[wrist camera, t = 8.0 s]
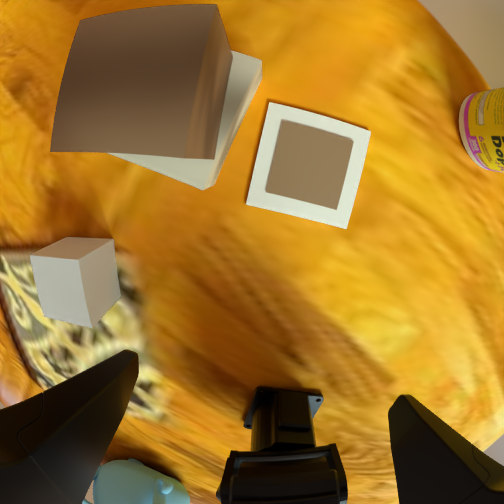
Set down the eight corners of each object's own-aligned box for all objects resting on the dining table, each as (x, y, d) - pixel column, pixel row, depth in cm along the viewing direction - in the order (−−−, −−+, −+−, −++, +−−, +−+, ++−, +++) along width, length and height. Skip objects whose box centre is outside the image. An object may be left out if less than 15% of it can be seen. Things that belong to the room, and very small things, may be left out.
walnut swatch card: (345, 228, 19) (347, 229, 18) (246, 203, 19) (245, 205, 18) (369, 131, 17) (372, 131, 16) (269, 102, 17) (269, 101, 16)
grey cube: (121, 297, 22) (92, 327, 17) (76, 290, 22) (44, 316, 17) (114, 238, 20) (78, 259, 15) (67, 236, 20) (29, 255, 15)
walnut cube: (214, 159, 14) (184, 158, 9) (115, 150, 14) (50, 151, 9) (233, 57, 13) (216, 4, 7) (134, 56, 12) (80, 20, 7)
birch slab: (215, 184, 19) (202, 190, 15) (118, 147, 18) (88, 146, 14) (262, 80, 16) (261, 60, 13) (160, 50, 16) (139, 30, 12)
